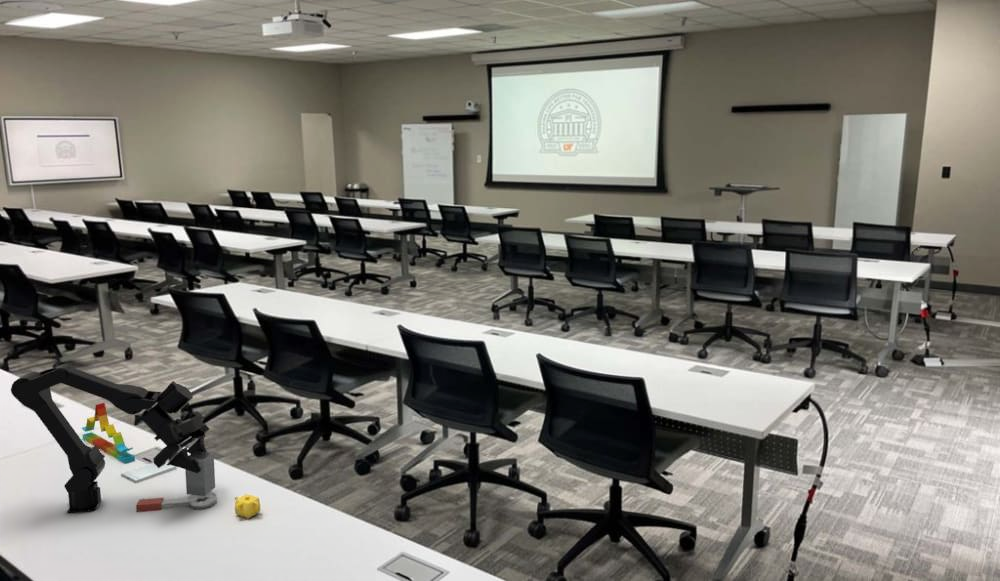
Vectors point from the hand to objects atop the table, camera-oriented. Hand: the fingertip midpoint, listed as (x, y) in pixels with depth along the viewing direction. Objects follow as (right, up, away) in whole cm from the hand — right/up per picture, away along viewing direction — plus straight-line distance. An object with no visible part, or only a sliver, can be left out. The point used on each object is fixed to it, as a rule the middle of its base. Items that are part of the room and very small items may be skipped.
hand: (204, 467), depth 193 cm
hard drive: (-25, -7, +21) cm, 34 cm away
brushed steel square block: (-1, -7, +1) cm, 7 cm away
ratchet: (-7, -10, +1) cm, 13 cm away
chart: (-46, -4, +38) cm, 60 cm away
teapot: (+12, -12, -4) cm, 17 cm away
